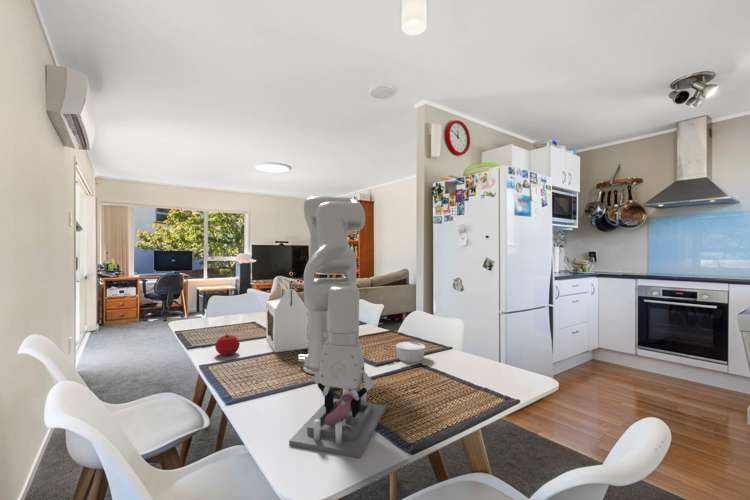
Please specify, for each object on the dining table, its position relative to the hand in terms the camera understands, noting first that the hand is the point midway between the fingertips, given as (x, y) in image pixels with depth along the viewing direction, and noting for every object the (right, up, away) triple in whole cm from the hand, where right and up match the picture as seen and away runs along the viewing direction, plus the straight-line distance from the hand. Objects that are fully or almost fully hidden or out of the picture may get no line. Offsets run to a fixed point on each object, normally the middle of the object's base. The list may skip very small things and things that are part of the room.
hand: (342, 411), depth 83 cm
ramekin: (+21, -3, +50) cm, 54 cm away
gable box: (-31, -3, +69) cm, 76 cm away
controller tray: (0, -3, 0) cm, 3 cm away
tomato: (-50, -3, +54) cm, 73 cm away
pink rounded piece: (0, -2, 0) cm, 2 cm away
